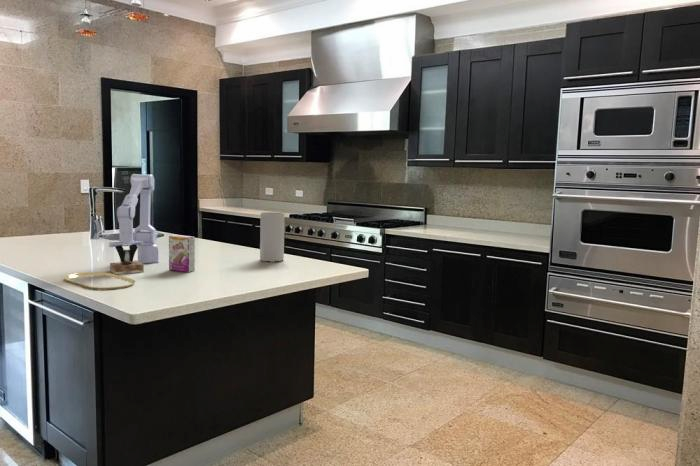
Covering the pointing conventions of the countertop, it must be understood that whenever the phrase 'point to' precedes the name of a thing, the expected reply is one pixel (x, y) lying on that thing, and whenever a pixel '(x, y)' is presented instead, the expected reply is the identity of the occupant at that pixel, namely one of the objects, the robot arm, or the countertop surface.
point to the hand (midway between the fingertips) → (126, 261)
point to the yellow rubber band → (100, 274)
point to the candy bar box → (181, 253)
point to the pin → (126, 257)
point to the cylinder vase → (272, 236)
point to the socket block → (126, 267)
